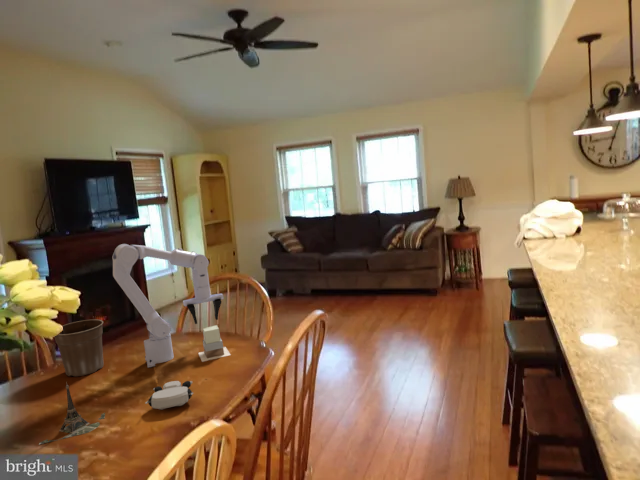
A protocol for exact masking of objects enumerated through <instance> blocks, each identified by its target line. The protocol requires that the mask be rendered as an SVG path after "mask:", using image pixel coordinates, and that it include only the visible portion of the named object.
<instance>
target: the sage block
mask: <svg viewBox="0 0 640 480" xmlns="http://www.w3.org/2000/svg"><path fill="white" fill-rule="evenodd" d="M202 334H203V340H204V341H205V343H206V344H209V343H213V342H218V341H221V340H222V339H221V340H220V338H221V334H220V328H219V327H218V325H217V324H216V325H211V326H206V327H202Z"/></svg>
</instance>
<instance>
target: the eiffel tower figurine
mask: <svg viewBox="0 0 640 480" xmlns="http://www.w3.org/2000/svg"><path fill="white" fill-rule="evenodd" d="M67 382H68V381H66V385H65V389H66V397H67V410H66V411H67V413H66V417H65V418H64V421H63V423H62V425H61V426H60V429H59V430H58V432H61V433H66V434H67V433H68V434H67V435H65V436H63V437H62V438H58V439H52V440H51V439H45V440H42V441H40V442H39V443H38V446H39V445H44V444H47V443H48V444H49V443H52V442H57V441H60V440H64V439H68V438H72V437H76V436H79V435H85V434H88V433H90V432H92V431H94V430H95V429H97V428H99V427H100V426H101V423H100V422H99V421H100V420H104V419H105V417H106V412H103V413H101V415H100V417H99V418H97V419H98V420H99V421H97V422H94V423H90V422H88V421H87V420H85V419H84V418H83V417H82V415H81V414H79V413H78V410H77V409H76V407H75V405H74V403H73V402H74V401H73V399H72V396H71V392H70V386H69V385H68V383H67ZM48 440H49V441H48Z"/></svg>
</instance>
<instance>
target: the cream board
mask: <svg viewBox="0 0 640 480" xmlns="http://www.w3.org/2000/svg"><path fill="white" fill-rule="evenodd" d="M223 349H224V355H220V356H215V357H211V358H207V357H206V355H205V353H204V351H200V352H198V356H199V358H200V360H201V362H202V363H204V362H207V361H212V360H217V359H220V358H224V357H228V356H231V355H232V354H231V353H230V351H229V350H228V348H227V347H226V346H223Z"/></svg>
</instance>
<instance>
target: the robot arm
mask: <svg viewBox="0 0 640 480" xmlns="http://www.w3.org/2000/svg"><path fill="white" fill-rule="evenodd" d="M147 257H148V258H153V259H159V260H167V261H168V262H169V263H170V265H172V266H177V267H181V268H187V269H188V268H189V269H190V268H191V273H192V274H191V276H192V283H193V291H194V297H192V298H188V299H184V300H182V304H183V306H184V307H186V308H187V309H188V311H189V312H190V315H192V316H191V317H192V318H193V321H194V324H195V325H197V324H198V319H197V316H196V315H197V314H196V308H195V307H196V306H195V305H199V304H205V303H209V302H212V303H213V309H214V310H213V311H214V319H215V320H216V321H217V320H219V312H220V309H221V305H222V300H224V299H225V298H224V294H223V293H215V294H211V288H210V287H211V285H210V279H209V271H208V267H209V265H210V261H209V260H208V258H207V257H206V255H204V254H201V253H198V252H195V251H191V252H190V251H187V250H183V248H181V247H178V249H177V248H174V249H173V250H171V251H168V250H164V249H160V248H155V247H152V246H147V245H143V244H142V245H141V244H140V245H139V244H130V245H129V244H127V243H122V244H119V245H117V246H116V248H115V249H114V252H113V254H112V257H111V258H112V277H113V278H114V280H115V282H116V283H117V284H118V285H119V287H120V288H121V289H122V290H123V292H124V294H125V295H126V296H127V298H128V299H129V301H130V302H131V303H132V304H133V306H134V307H135V308H136V310H137V311H138V313H139V314H140V315H141V317H142V319H143V321H144V323H146V329H147V331H148V332H149V333H150V334H149V336H148V337H149V338H148V339H145V340H143V345H144V346H143V347H144V353H145V356H144V359H145V362H146V364H147V368H152V367H153V368H154V367H156V364H161V363H165V362H170V361H171V360H173V359H174V356H175V355H174V351H173V343H172V335H171V331H172V330H171V329H172V328H171V324H170V323H169V322H167V321H166V320H165V319H164V318H163V317H161V316H160V315H159V313H158V312H157V311H156V309H155V308H154V307H153V305H152V304H151V303H150V301H149V300H148V298H147V297H146V295H145V294H144V293H143V291H142V290H141V289H140V286H138V284H137V283H136V282H135V280H134V279H133V278H132V276H131V272H132V269H133V266H134V265H135V264H136V262H137V261H138V260H143V259H145V258H147Z"/></svg>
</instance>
